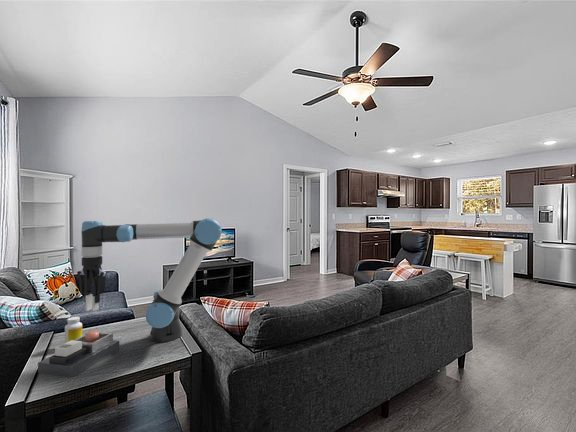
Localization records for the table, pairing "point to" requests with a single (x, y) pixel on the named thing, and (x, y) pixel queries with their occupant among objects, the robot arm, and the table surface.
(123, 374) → the table surface
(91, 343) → the grey stepped block
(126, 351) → the table surface
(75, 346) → the on button
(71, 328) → the supplement bottle
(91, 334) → the breaker button
